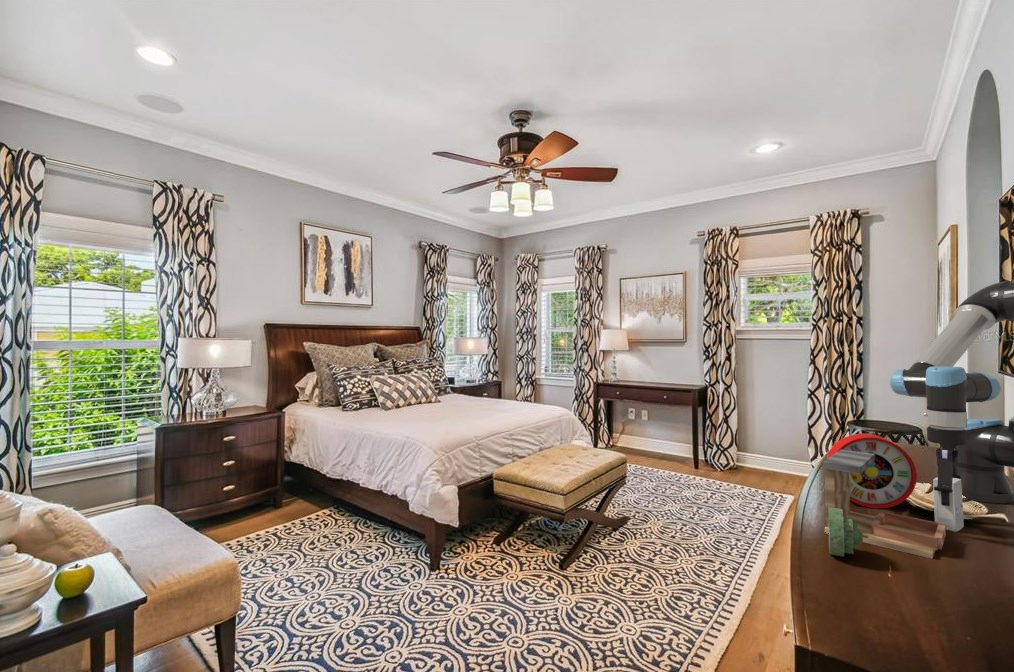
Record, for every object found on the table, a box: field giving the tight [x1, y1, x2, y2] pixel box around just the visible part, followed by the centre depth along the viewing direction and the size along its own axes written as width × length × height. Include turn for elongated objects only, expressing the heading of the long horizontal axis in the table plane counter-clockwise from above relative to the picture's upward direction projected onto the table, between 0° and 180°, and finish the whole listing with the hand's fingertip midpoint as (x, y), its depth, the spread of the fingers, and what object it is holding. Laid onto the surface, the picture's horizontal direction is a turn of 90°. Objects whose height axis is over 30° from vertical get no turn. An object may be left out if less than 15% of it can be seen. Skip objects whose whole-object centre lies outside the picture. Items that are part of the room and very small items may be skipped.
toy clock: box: [826, 433, 918, 509], centre depth 137 cm, size 20×6×20 cm, turn 68°
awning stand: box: [822, 450, 947, 560], centre depth 116 cm, size 18×21×18 cm
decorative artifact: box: [828, 507, 868, 558], centre depth 105 cm, size 10×7×10 cm
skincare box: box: [932, 476, 965, 532], centre depth 120 cm, size 6×4×12 cm
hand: (948, 511), depth 120 cm, fingers open, 13 cm apart
